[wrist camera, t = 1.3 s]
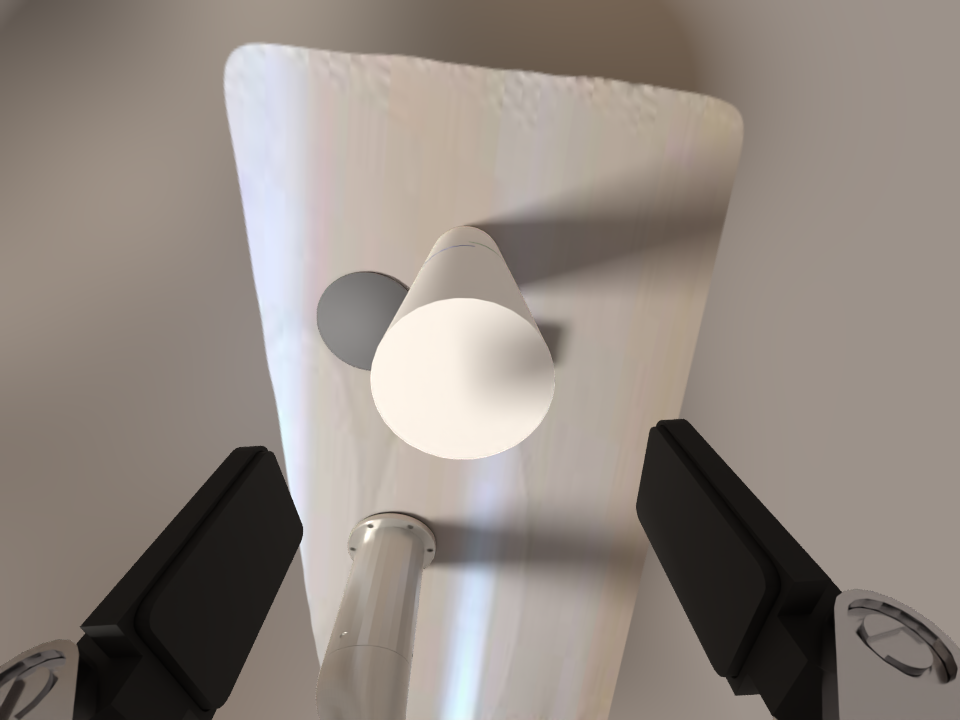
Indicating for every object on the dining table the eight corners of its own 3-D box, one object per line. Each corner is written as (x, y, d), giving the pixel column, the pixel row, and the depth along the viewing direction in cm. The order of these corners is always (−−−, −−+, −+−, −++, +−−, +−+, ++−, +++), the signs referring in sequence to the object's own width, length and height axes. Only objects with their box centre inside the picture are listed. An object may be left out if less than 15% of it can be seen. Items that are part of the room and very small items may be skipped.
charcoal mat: (392, 385, 42) (391, 387, 42) (301, 337, 40) (300, 338, 39) (441, 309, 39) (441, 310, 38) (345, 250, 36) (343, 250, 35)
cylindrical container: (426, 228, 35) (352, 305, 13) (499, 223, 35) (557, 291, 13) (434, 300, 38) (387, 465, 16) (502, 295, 38) (553, 453, 16)
